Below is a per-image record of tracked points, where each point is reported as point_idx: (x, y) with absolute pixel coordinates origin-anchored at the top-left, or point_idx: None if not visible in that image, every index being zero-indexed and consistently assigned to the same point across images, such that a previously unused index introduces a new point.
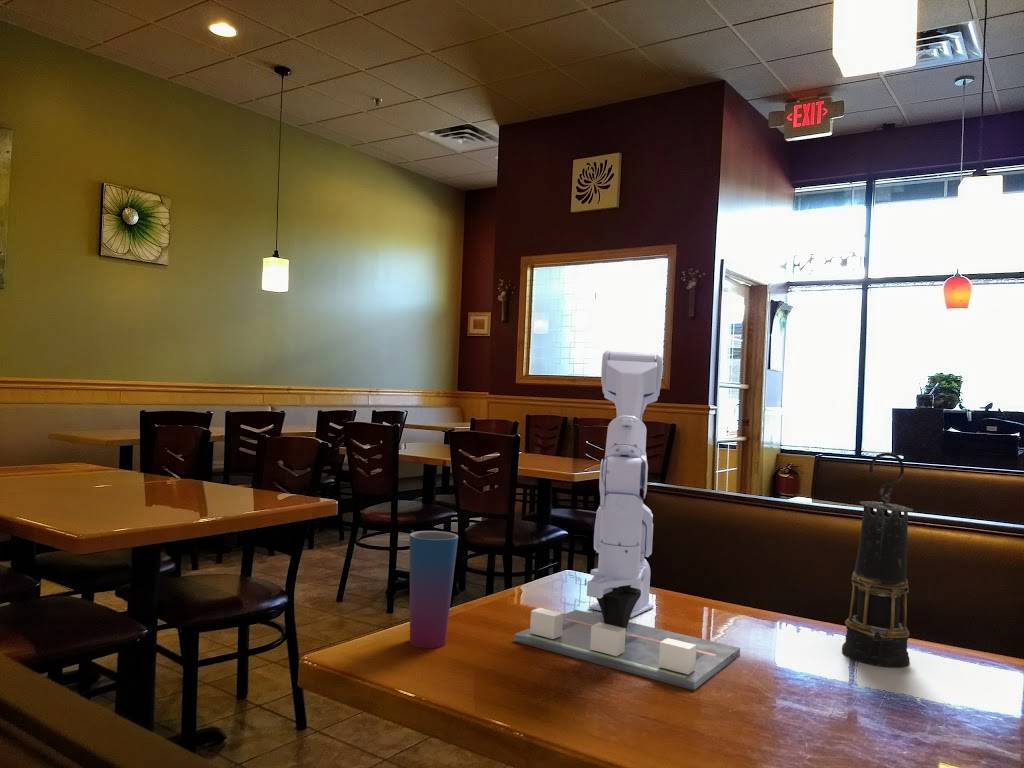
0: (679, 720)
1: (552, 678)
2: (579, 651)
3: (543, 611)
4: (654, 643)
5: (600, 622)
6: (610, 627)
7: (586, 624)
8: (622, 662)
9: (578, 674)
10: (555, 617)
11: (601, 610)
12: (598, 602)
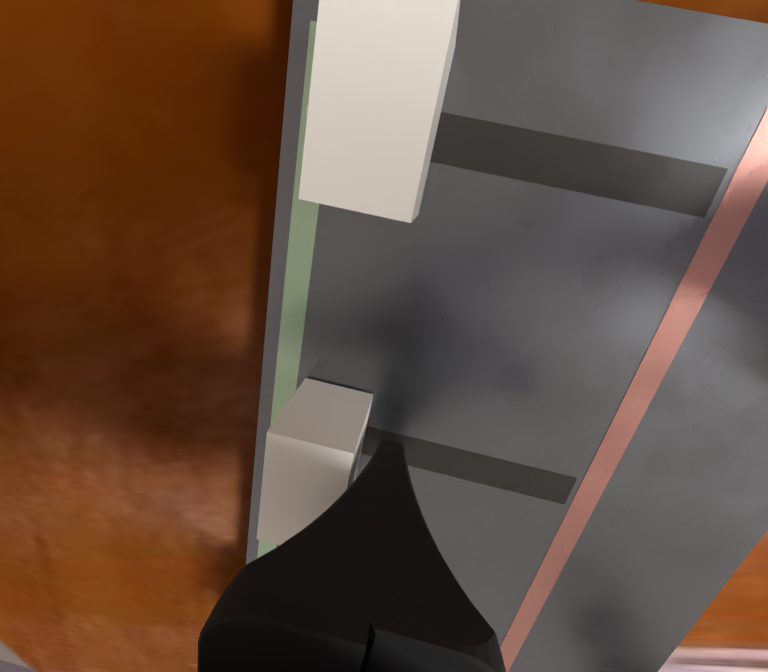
0: (79, 595)
1: (61, 309)
2: (264, 346)
3: (369, 66)
4: (519, 555)
5: (351, 458)
6: (302, 507)
7: (694, 267)
8: (257, 489)
9: (148, 369)
10: (312, 201)
11: (325, 511)
12: (288, 539)
